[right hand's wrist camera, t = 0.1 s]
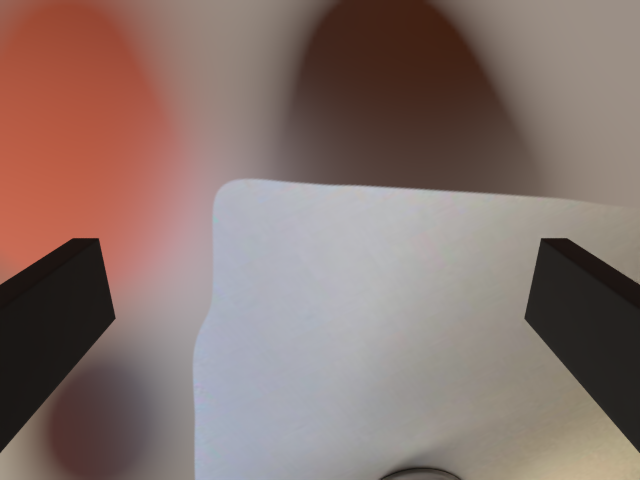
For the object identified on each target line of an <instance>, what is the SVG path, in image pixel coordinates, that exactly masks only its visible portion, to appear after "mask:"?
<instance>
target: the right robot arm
mask: <svg viewBox="0 0 640 480" xmlns="http://www.w3.org/2000/svg"><path fill="white" fill-rule="evenodd" d="M524 319H525V320H526V321H527V322H528V323H529V324H530V326H531V327H532V328H533V329H534V330H535V331H536V333H537V334H538V335H539V336H540V337H541V338H542V340H543V341H544V342H545V343H546V344H547V345H548V347H549V348H550V349H551V350H552V351H553V352H554V354H555V355H556V356H557V357H558V358H559V359H560V361H561V362H562V363H563V364H564V365H565V366H566V368H567V369H568V370H569V371H570V372H571V373H572V375H573V376H574V377H575V378H576V379H577V380H578V382H579V383H580V384H581V385H582V386H583V387H584V389H585V390H586V391H587V392H588V393H589V394H590V396H591V397H592V398H593V399H594V400H595V401H596V402H597V404H598V405H599V406H600V407H601V408H602V409H603V411H604V412H605V413H606V414H607V415H608V416H609V418H610V419H611V420H612V421H613V422H614V423H615V425H616V426H617V427H618V428H619V429H620V430H621V432H622V433H623V434H624V435H625V436H626V437H627V439H628V440H629V441H630V442H631V443H632V444H633V446H634V447H635V448H636V449H637V450H638V451H639V453H640V285H639V284H638V283H636V282H635V281H633V280H631V279H630V278H628V277H627V276H625V275H624V274H622V273H620V272H619V271H617V270H616V269H614V268H613V267H611V266H610V265H608V264H606V263H605V262H603V261H602V260H600V259H599V258H597V257H596V256H594V255H592V254H591V253H589V252H588V251H586V250H585V249H583V248H581V247H580V246H578V245H577V244H575V243H574V242H572V241H571V240H569V239H567V238H541V242H540V247H539V252H538V256H537V261H536V266H535V271H534V275H533V280H532V285H531V290H530V294H529V299H528V304H527V309H526V313H525V318H524ZM114 320H115V314H114V309H113V304H112V299H111V294H110V290H109V285H108V280H107V275H106V271H105V266H104V261H103V257H102V252H101V247H100V242H99V239H98V238H73V239H71V240H69V241H68V242H66V243H65V244H63V245H62V246H60V247H59V248H57V249H55V250H54V251H52V252H51V253H49V254H48V255H46V256H45V257H43V258H41V259H40V260H38V261H37V262H35V263H34V264H32V265H30V266H29V267H27V268H26V269H24V270H23V271H21V272H20V273H18V274H17V275H15V276H13V277H12V278H10V279H9V280H7V281H5V282H4V283H2V284H1V285H0V453H1V451H2V450H3V449H4V448H5V447H6V446H7V444H8V443H9V442H10V441H11V440H12V439H13V437H14V436H15V435H16V434H17V433H18V432H19V430H20V429H21V428H22V427H23V426H24V425H25V423H26V422H27V421H28V420H29V419H30V418H31V416H32V415H33V414H34V413H35V412H36V411H37V409H38V408H39V407H40V406H41V405H42V404H43V402H44V401H45V400H46V399H47V398H48V397H49V396H50V394H51V393H52V392H53V391H54V390H55V388H56V387H57V386H58V385H59V384H60V383H61V382H62V380H63V379H64V378H65V377H66V376H67V374H68V373H69V372H70V371H71V370H72V369H73V367H74V366H75V365H76V364H77V363H78V362H79V360H80V359H81V358H82V357H83V356H84V355H85V353H86V352H87V351H88V350H89V349H90V348H91V346H92V345H93V344H94V343H95V342H96V341H97V340H98V338H99V337H100V336H101V335H102V334H103V332H104V331H105V330H106V329H107V328H108V327H109V326H110V324H111V323H112V322H113V321H114ZM382 480H459V479H458V478H456V477H455V476H453V475H451V474H448V473H446V472H442V471H439V470H433V469H411V470H405V471H401V472H398V473H395V474H392V475H390V476H388V477H386V478H384V479H382Z"/></svg>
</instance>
